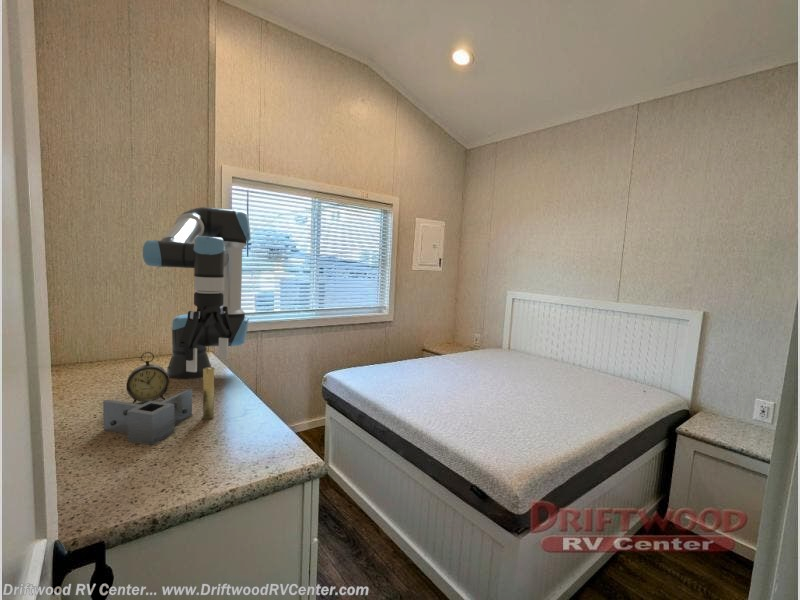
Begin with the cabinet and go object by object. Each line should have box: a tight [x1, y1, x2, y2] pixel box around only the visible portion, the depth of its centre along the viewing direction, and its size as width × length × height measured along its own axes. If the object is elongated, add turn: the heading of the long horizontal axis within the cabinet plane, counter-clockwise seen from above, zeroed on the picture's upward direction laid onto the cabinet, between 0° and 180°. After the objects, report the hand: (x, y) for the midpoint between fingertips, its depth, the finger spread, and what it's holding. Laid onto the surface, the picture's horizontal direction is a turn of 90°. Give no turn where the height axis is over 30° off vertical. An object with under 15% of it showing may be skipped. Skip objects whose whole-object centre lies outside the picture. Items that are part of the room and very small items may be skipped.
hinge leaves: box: [102, 388, 193, 446], centre depth 104 cm, size 18×18×8 cm
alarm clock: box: [125, 351, 170, 404], centre depth 118 cm, size 11×5×16 cm, turn 123°
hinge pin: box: [202, 366, 215, 421], centre depth 110 cm, size 3×3×15 cm
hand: (208, 364), depth 109 cm, fingers open, 13 cm apart
